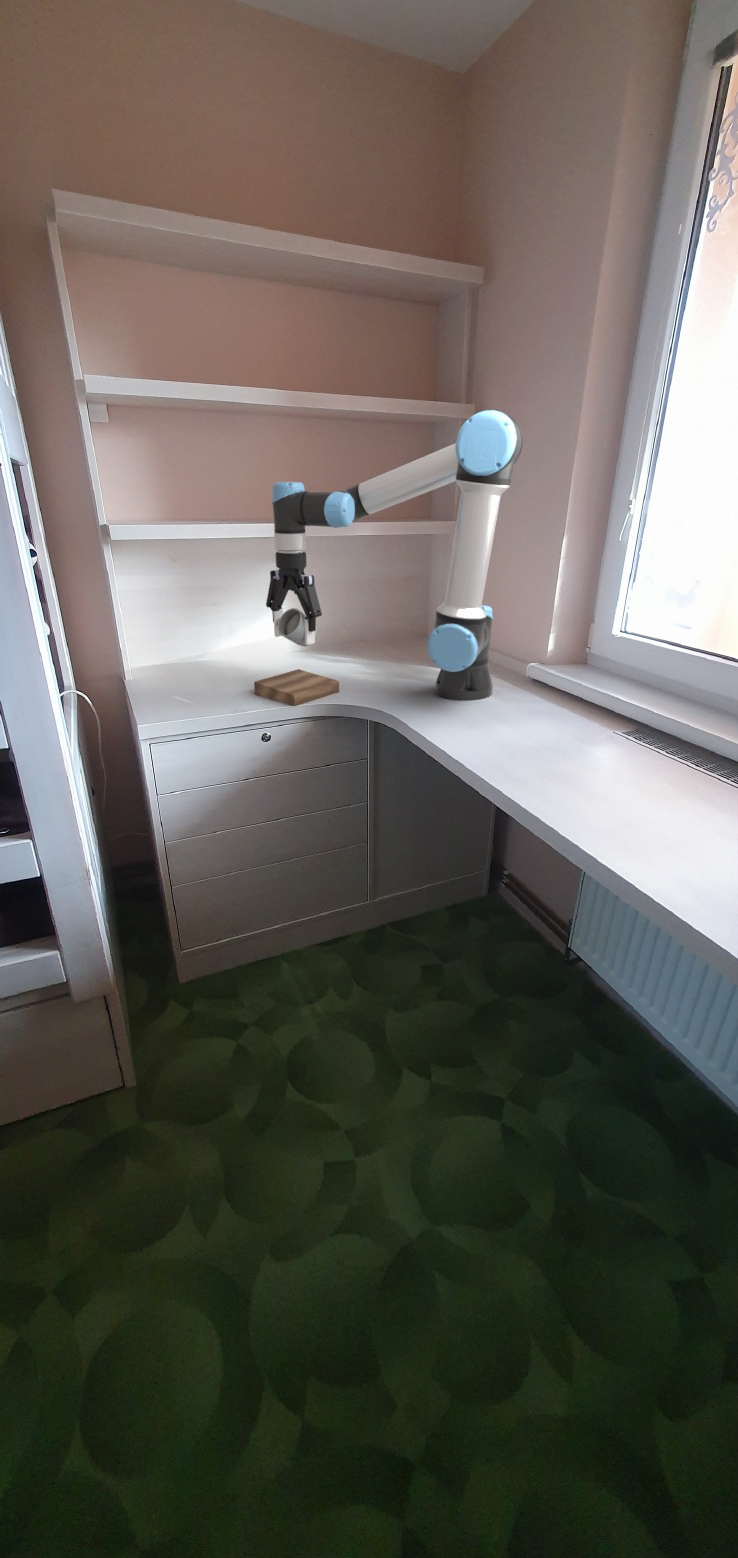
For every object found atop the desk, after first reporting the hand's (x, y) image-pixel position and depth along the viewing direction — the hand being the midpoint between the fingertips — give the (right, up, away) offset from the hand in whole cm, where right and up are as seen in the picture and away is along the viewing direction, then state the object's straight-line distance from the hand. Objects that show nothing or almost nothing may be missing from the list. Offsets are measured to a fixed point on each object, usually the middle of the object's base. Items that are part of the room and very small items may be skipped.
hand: (294, 639), depth 169 cm
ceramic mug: (0, -2, +1) cm, 2 cm away
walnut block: (0, -14, +7) cm, 15 cm away
